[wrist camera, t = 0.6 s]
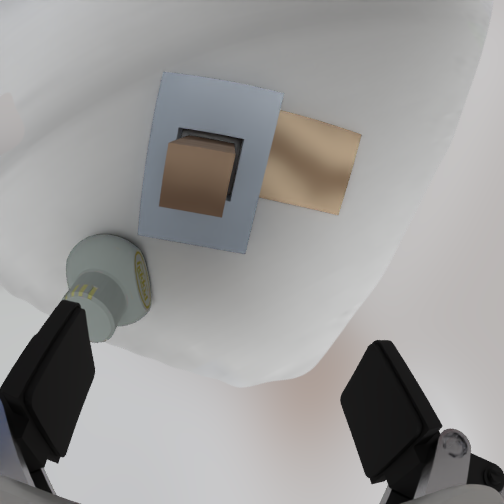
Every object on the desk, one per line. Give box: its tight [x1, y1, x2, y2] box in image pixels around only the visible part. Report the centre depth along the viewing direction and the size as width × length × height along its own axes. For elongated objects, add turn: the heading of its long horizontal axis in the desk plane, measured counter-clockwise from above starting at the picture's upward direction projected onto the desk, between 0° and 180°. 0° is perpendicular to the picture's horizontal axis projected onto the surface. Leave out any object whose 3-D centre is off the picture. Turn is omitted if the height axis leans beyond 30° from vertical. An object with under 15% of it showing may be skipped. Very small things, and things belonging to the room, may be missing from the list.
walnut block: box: [159, 135, 235, 218], centre depth 24 cm, size 4×4×10 cm
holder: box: [138, 72, 284, 254], centre depth 27 cm, size 16×11×2 cm
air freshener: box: [62, 234, 151, 343], centre depth 28 cm, size 11×8×10 cm
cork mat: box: [259, 110, 361, 215], centre depth 29 cm, size 9×9×1 cm
